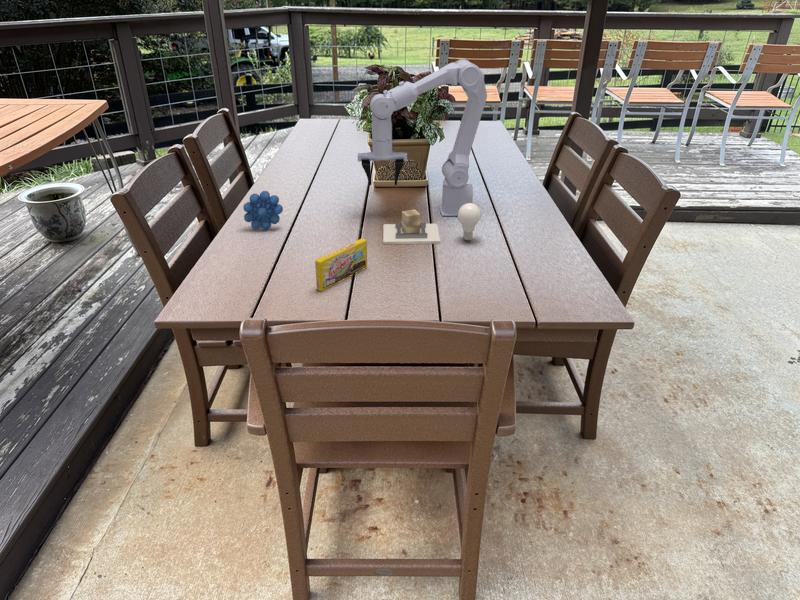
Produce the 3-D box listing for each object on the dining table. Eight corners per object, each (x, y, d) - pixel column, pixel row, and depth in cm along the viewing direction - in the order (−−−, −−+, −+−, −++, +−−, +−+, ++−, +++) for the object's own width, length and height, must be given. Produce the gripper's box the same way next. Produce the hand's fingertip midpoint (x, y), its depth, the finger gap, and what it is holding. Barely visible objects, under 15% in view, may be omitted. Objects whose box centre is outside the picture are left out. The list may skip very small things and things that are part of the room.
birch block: (414, 228, 160) (414, 209, 157) (419, 233, 157) (420, 214, 154) (401, 230, 159) (401, 211, 156) (407, 236, 156) (407, 216, 153)
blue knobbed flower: (287, 223, 166) (283, 185, 159) (284, 232, 160) (279, 193, 154) (249, 223, 166) (243, 185, 159) (244, 233, 160) (237, 194, 153)
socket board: (436, 226, 164) (437, 219, 163) (440, 243, 153) (440, 237, 152) (383, 226, 163) (383, 220, 162) (383, 244, 153) (383, 237, 152)
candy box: (322, 292, 131) (319, 262, 127) (316, 289, 132) (313, 259, 128) (368, 268, 142) (367, 239, 137) (362, 265, 143) (361, 237, 138)
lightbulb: (481, 237, 157) (483, 201, 151) (476, 246, 152) (479, 209, 146) (459, 234, 159) (461, 198, 153) (454, 243, 154) (456, 206, 148)
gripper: (406, 134, 161) (406, 179, 168) (357, 135, 161) (359, 179, 168) (407, 141, 155) (407, 187, 162) (356, 142, 155) (358, 187, 162)
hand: (383, 184), depth 165 cm, fingers open, 7 cm apart
